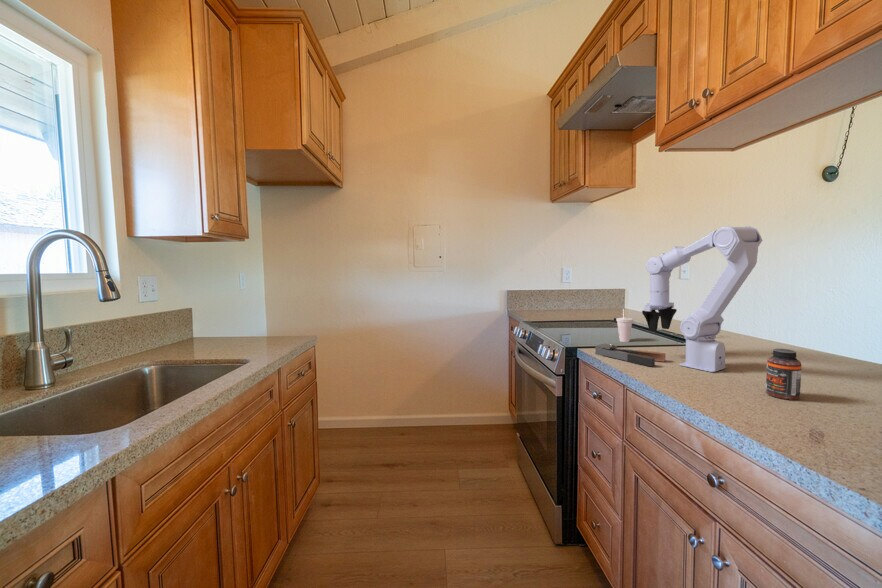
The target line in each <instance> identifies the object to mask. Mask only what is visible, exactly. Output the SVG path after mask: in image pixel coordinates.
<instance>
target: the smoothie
mask: <svg viewBox="0 0 882 588" xmlns="http://www.w3.org/2000/svg"><path fill="white" fill-rule="evenodd" d="M615 320H616V322H617V323H616V324H617V331H618V337H619V342H622V343H629V342H630V341H631V334H632V333H631V332H632V326H633V322H634V319H633V318H632V317H625V308H622V317H617V318H615Z"/></svg>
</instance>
